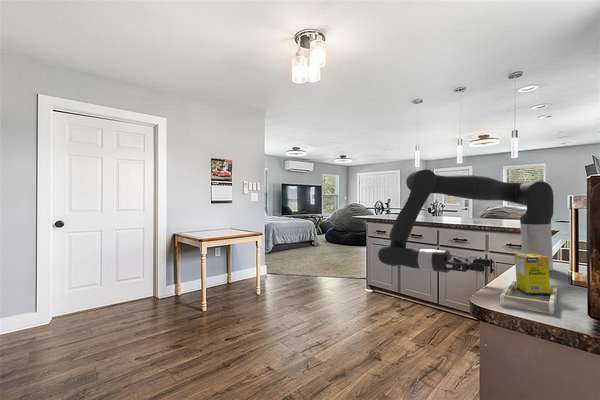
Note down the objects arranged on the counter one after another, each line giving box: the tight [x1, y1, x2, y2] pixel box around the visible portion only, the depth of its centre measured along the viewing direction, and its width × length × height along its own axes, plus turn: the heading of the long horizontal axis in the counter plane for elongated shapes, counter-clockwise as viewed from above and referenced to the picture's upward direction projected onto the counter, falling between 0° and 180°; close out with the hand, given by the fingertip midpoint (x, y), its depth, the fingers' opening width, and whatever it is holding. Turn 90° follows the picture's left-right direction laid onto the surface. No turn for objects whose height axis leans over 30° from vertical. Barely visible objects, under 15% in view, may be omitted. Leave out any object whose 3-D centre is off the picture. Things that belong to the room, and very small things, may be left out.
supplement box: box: [514, 253, 551, 297], centre depth 87 cm, size 6×6×11 cm
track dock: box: [499, 280, 559, 315], centre depth 83 cm, size 22×11×2 cm, turn 137°
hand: (487, 265), depth 95 cm, fingers open, 8 cm apart
